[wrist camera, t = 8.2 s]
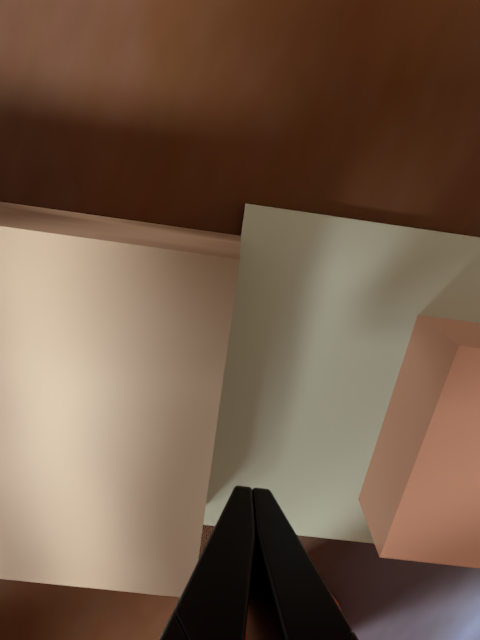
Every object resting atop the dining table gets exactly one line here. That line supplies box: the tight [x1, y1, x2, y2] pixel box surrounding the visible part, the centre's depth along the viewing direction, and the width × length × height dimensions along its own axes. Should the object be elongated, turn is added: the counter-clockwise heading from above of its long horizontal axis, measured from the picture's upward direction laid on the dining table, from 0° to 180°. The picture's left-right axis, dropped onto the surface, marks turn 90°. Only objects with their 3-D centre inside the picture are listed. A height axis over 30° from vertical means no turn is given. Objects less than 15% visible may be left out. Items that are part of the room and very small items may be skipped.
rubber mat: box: [203, 203, 480, 544], centre depth 14 cm, size 13×13×1 cm
